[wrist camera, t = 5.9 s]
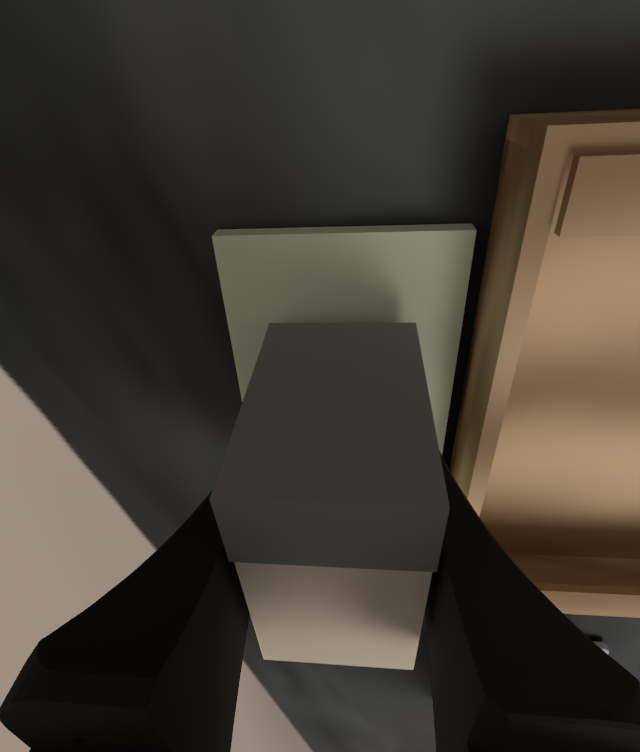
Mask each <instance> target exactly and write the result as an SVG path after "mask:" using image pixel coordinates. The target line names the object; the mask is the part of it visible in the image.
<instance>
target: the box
mask: <svg viewBox="0 0 640 752" xmlns="http://www.w3.org/2000/svg"><path fill="white" fill-rule="evenodd" d="M209 500H210V503H211V506H212V509H213V512H214V516H215V519H216V522H217V525H218V528H219V531H220V535H221V538H222V541H223V544H224V547H225V550H226V554H227V557H228V560H229V562H234V563H235V567H236V570H237V573H238V576H239V580H240V583H241V586H242V590H243V593H244V596H245V600H246V603H247V606H248V609H249V613H250V616H251V619H252V623H253V626H254V629H255V633H256V636H257V639H258V642H259V646H260V649H261V652H262V656H263V659H264V660H278V661H293V662H307V663H321V664H335V665H349V666H363V667H377V668H391V669H406V670H414V664H415V659H416V654H417V649H418V644H419V639H420V634H421V628H422V623H423V618H424V613H425V608H426V603H427V597H428V592H429V587H430V582H431V577H432V572H437V568H438V563H439V558H440V553H441V549H442V544H443V539H444V534H445V529H446V524H447V519H448V514H449V509H450V506H449V501H448V495H447V490H446V484H445V479H444V474H443V468H442V463H441V457H440V452H439V446H438V441H437V435H436V430H435V424H434V419H433V413H432V408H431V403H430V397H429V392H428V386H427V381H426V375H425V370H424V364H423V359H422V353H421V348H420V343H419V337H418V332H417V326H416V323H269V326H268V329H267V332H266V334H265V337H264V340H263V343H262V346H261V349H260V352H259V355H258V358H257V361H256V364H255V367H254V370H253V373H252V376H251V378H250V381H249V384H248V387H247V390H246V393H245V396H244V399H243V402H242V405H241V408H240V411H239V414H238V417H237V420H236V422H235V425H234V428H233V431H232V434H231V437H230V440H229V443H228V446H227V449H226V452H225V455H224V458H223V461H222V464H221V466H220V469H219V472H218V475H217V478H216V481H215V484H214V487H213V490H212V493H211V496H210V499H209Z"/></svg>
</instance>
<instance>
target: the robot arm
mask: <svg viewBox="0 0 640 752" xmlns="http://www.w3.org/2000/svg"><path fill="white" fill-rule="evenodd" d="M439 452H440V450H439ZM440 457H441V463H442V468H443V474H444V479H445V484H446V490H447V495H448V501H449V506H450V509H449V514H448V519H447V524H446V529H445V534H444V539H443V544H442V549H441V553H440V558H439V563H438V568H437V572H432V577H431V582H430V587H429V592H428V597H427V603H426V608H425V616H426V625H427V636H428V647H429V659H430V671H431V684H432V696H433V710H434V724H435V738H436V752H640V682H639V681H638V679H636V678H635V677H634V676H633V675H632V674H630V673H629V672H628V671H627V670H626V669H625V668H623V667H622V666H621V665H620V664H619V663H617V662H616V661H615V660H614V659H613V658H611V657H610V656H609V655H608V654H609V650H608V648H607V645H606V644H605V643H603V642H598V641H592V640H591V639H590V638H589V637H587V636H586V635H585V634H584V633H583V632H582V631H581V630H580V629H579V628H578V627H577V626H576V625H575V624H573V623H572V622H571V621H570V620H569V619H568V618H567V617H566V616H565V615H564V614H563V613H562V612H561V611H560V610H559V609H558V608H557V607H556V606H555V605H554V604H553V603H552V602H551V601H550V600H549V599H548V598H547V597H546V596H545V595H544V594H543V593H542V592H541V591H540V590H539V589H538V588H537V587H536V586H535V585H534V583H533V582H532V581H531V580H530V579H529V578H528V577H527V576H526V575H525V573H524V572H523V571H522V570H521V569H520V568H519V567H518V566H517V564H516V563H515V562H514V561H513V560H512V559H511V557H510V556H509V555H508V554H507V553H506V551H505V550H504V549H503V548H502V546H501V545H500V544H499V543H498V541H497V540H496V539H495V538H494V536H493V535H492V534H491V532H490V531H489V530H488V528H487V527H486V525H485V524H484V523H483V521H482V520H481V519H480V517H479V516H478V514H477V513H476V511H475V510H474V508H473V507H472V505H471V504H470V502H469V501H468V499H467V498H466V496H465V495H464V493H463V492H462V490H461V488H460V487H459V485H458V483H457V482H456V480H455V478H454V477H453V475H452V473H451V471H450V470H449V468H448V466H447V464H446V462H445V460H444V458H443V456H442V454H441V452H440ZM212 490H213V489H212ZM211 493H212V491H211V492H210V493H209V495H208V496H207V497H206V498H205V499H204V501H203V502H202V503H201V504H200V505H199V506H198V508H197V509H196V510H195V511H194V512H193V513H192V515H191V516H190V517H189V518H188V519H187V520H186V521H185V522H184V524H183V525H182V526H181V527H180V528H179V529H178V530H177V531H176V532H175V533H174V534H173V535H172V536H171V537H170V538H169V539H168V540H167V541H166V542H165V543H164V544H163V545H162V546H161V547H160V548H159V549H158V550H157V551H156V552H155V553H154V554H153V555H151V556H150V557H149V558H148V559H147V560H146V561H145V562H144V563H143V564H142V565H141V566H140V567H138V568H137V569H136V570H135V571H134V572H133V573H131V574H130V575H129V576H128V577H127V578H126V579H124V580H123V581H122V582H120V583H119V584H118V585H117V586H115V587H114V588H113V589H111V590H110V591H109V592H108V593H106V594H105V595H104V596H103V597H101V598H100V599H99V600H98V601H96V602H95V603H94V604H93V605H91V606H90V607H88V608H87V609H86V610H84V611H83V612H81V613H80V614H78V615H77V616H76V617H74V618H73V619H71V620H70V621H68V622H67V623H65V624H64V625H62V626H61V627H60V628H58V629H57V630H55V631H54V632H52V633H51V634H50V635H48V636H46V637H45V638H43V639H42V640H40V641H39V643H38V644H37V646H36V647H35V649H34V650H33V652H32V654H31V655H30V657H29V658H28V659H27V661H26V663H25V664H24V666H23V668H22V670H21V671H20V674H19V675H18V677H17V679H16V680H15V682H14V684H13V686H12V688H11V689H10V691H9V693H8V694H7V696H6V698H5V700H4V701H3V703H2V705H1V707H0V721H1V722H2V723H3V725H4V726H5V727H6V728H7V729H8V730H10V731H11V732H12V733H13V734H14V735H16V736H17V737H18V738H19V739H20V740H22V741H23V742H24V743H25V744H26V745H28V746H29V747H30V748H31V749H30V751H29V752H230V749H231V741H232V733H233V724H234V717H235V710H236V702H237V695H238V687H239V680H240V672H241V666H242V660H243V653H244V646H245V640H246V634H247V628H248V622H249V615H250V613H249V609H248V606H247V603H246V600H245V596H244V593H243V590H242V586H241V583H240V580H239V576H238V573H237V570H236V567H235V563H234V562H229V560H228V557H227V554H226V550H225V547H224V544H223V541H222V538H221V535H220V531H219V528H218V525H217V522H216V519H215V516H214V512H213V509H212V506H211V503H210V500H209V499H210V496H211Z"/></svg>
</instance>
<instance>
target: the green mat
mask: <svg viewBox="0 0 640 752" xmlns="http://www.w3.org/2000/svg"><path fill="white" fill-rule="evenodd" d="M476 231H477V230H476V228H475V227H474V226H473V224H472V223H468V224H426V225H385V226H343V227H302V228H260V229H219V230H217V231H216V232H215V233H214V234H213V235H212V241H213V246H214V252H215V257H216V263H217V268H218V274H219V279H220V284H221V290H222V295H223V301H224V306H225V312H226V317H227V322H228V328H229V333H230V339H231V344H232V350H233V355H234V360H235V366H236V371H237V377H238V382H239V388H240V393H241V398H242V402H243V399H244V396H245V393H246V390H247V387H248V384H249V381H250V378H251V376H252V373H253V370H254V367H255V364H256V361H257V358H258V355H259V352H260V349H261V346H262V343H263V340H264V337H265V334H266V332H267V329H268V326H269V323H416V326H417V332H418V337H419V343H420V348H421V353H422V359H423V364H424V370H425V375H426V381H427V386H428V392H429V397H430V403H431V408H432V413H433V419H434V424H435V430H436V435H437V441H438V446H439V450H440V452H441V454H442V453H443V447H444V440H445V434H446V427H447V421H448V414H449V408H450V401H451V395H452V388H453V381H454V375H455V368H456V362H457V355H458V349H459V342H460V336H461V329H462V323H463V316H464V310H465V303H466V297H467V290H468V284H469V277H470V271H471V264H472V257H473V251H474V244H475V238H476Z"/></svg>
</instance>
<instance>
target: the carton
mask: <svg viewBox="0 0 640 752" xmlns="http://www.w3.org/2000/svg"><path fill="white" fill-rule="evenodd" d="M449 470H450V471H451V473H452V475H453V477H454V478H455V480H456V482H457V483H458V485H459V487H460V488H461V490H462V492H463V493H464V495H465V496H466V498H467V499H468V501H469V502H470V504H471V505H472V507H473V508H474V510H475V511H476V513H477V514H478V516H479V517H480V519H481V520H482V521H483V523H484V524H485V525H486V527H487V528H488V530H489V531H490V532H491V534H492V535H493V536H494V538H495V539H496V540H497V541H498V543H499V544H500V545H501V546H502V548H503V549H504V550H505V551H506V553H507V554H508V555H509V556H510V557H511V559H512V560H513V561H514V562H515V563H516V564H517V566H518V567H519V568H520V569H521V570H522V571H523V572H524V573H525V575H526V576H527V577H528V578H529V579H530V580H531V581H532V582H533V583H534V585H535V586H536V587H537V588H538V589H539V590H540V591H541V592H542V593H543V594H544V595H545V596H546V597H547V598H548V599H549V600H550V601H551V602H552V603H553V604H554V605H555V606H556V607H557V608H558V609H559V610H560V611H561V612H562V613H563V614H579V615H598V616H617V617H636V618H640V109H619V110H597V111H575V112H553V113H531V114H510V115H509V121H508V127H507V133H506V139H505V145H504V150H503V156H502V162H501V168H500V174H499V180H498V186H497V192H496V197H495V203H494V209H493V215H492V221H491V227H490V233H489V239H488V245H487V250H486V256H485V262H484V268H483V274H482V280H481V286H480V292H479V297H478V303H477V309H476V315H475V321H474V327H473V333H472V339H471V344H470V350H469V356H468V362H467V368H466V374H465V380H464V386H463V392H462V397H461V403H460V409H459V415H458V421H457V427H456V433H455V439H454V444H453V450H452V456H451V462H450V468H449Z"/></svg>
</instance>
